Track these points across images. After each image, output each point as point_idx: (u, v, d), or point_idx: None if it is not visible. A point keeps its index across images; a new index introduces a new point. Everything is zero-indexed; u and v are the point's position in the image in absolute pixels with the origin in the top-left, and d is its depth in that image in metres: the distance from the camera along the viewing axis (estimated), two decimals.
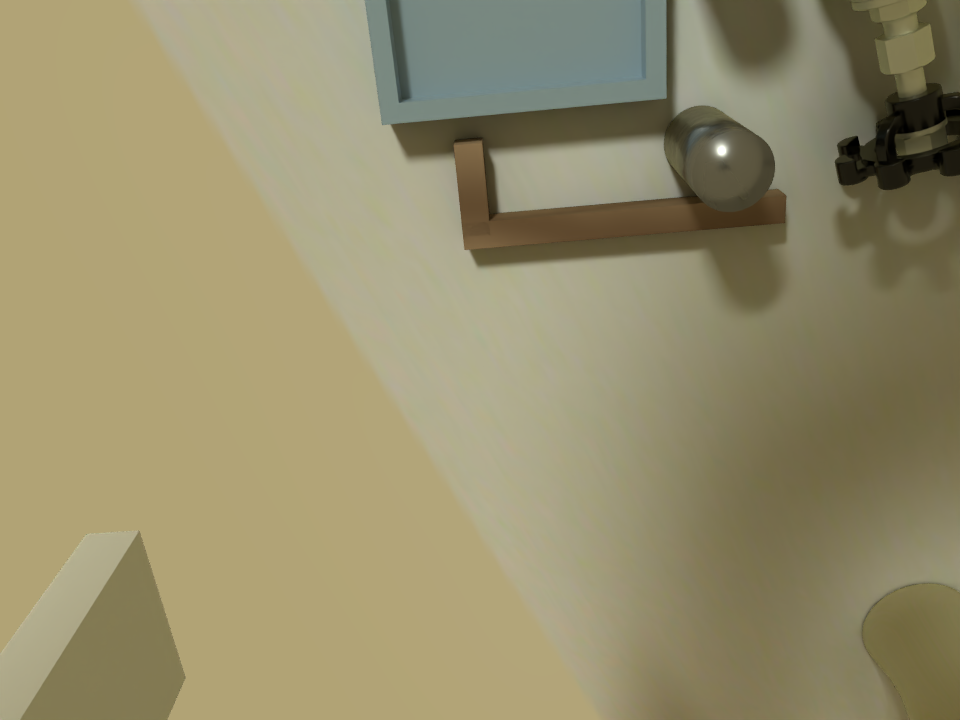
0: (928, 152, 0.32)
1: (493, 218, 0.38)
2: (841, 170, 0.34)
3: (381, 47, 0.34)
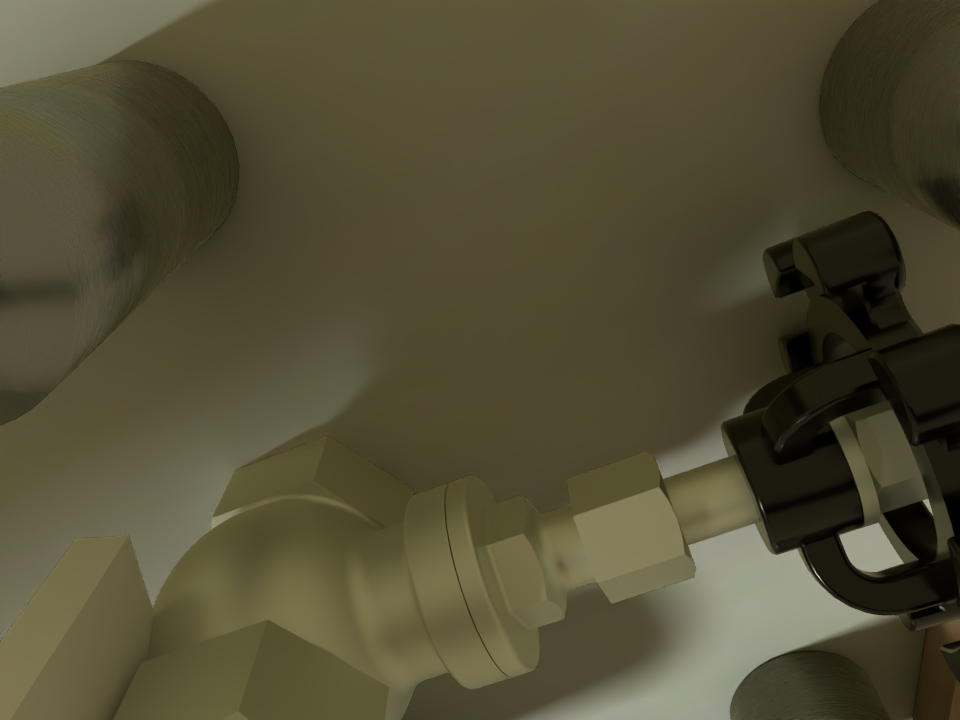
0: (947, 556, 0.10)
1: None
2: None
3: None
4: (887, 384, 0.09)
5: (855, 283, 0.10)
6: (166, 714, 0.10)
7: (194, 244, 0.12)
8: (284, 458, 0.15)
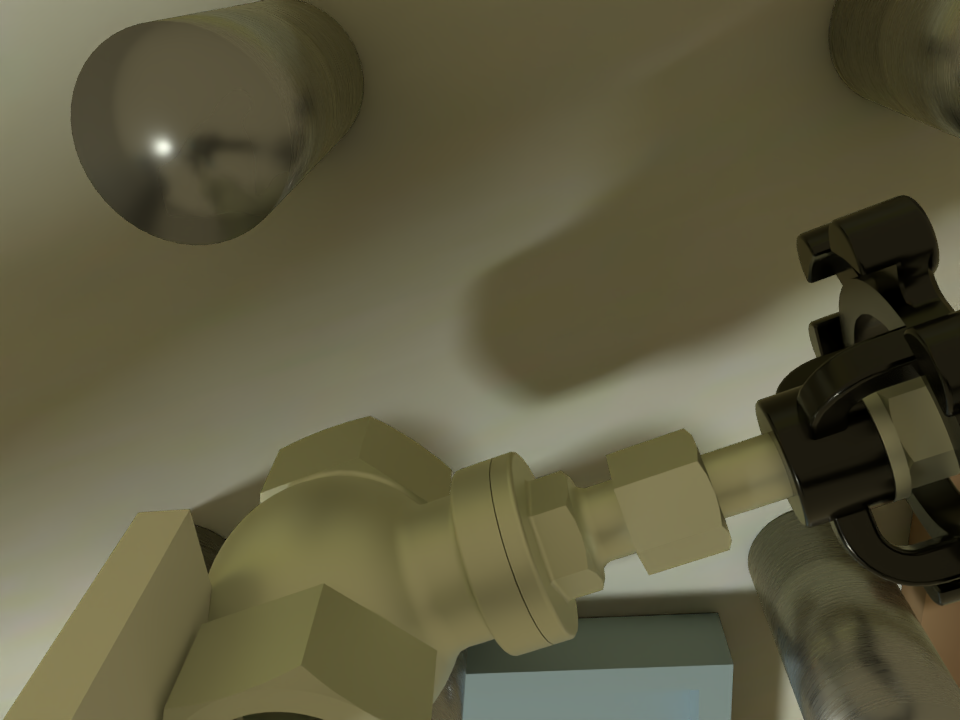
0: None
1: None
2: None
3: None
4: (923, 358, 0.10)
5: (890, 264, 0.11)
6: (230, 669, 0.11)
7: (337, 138, 0.16)
8: (328, 437, 0.16)
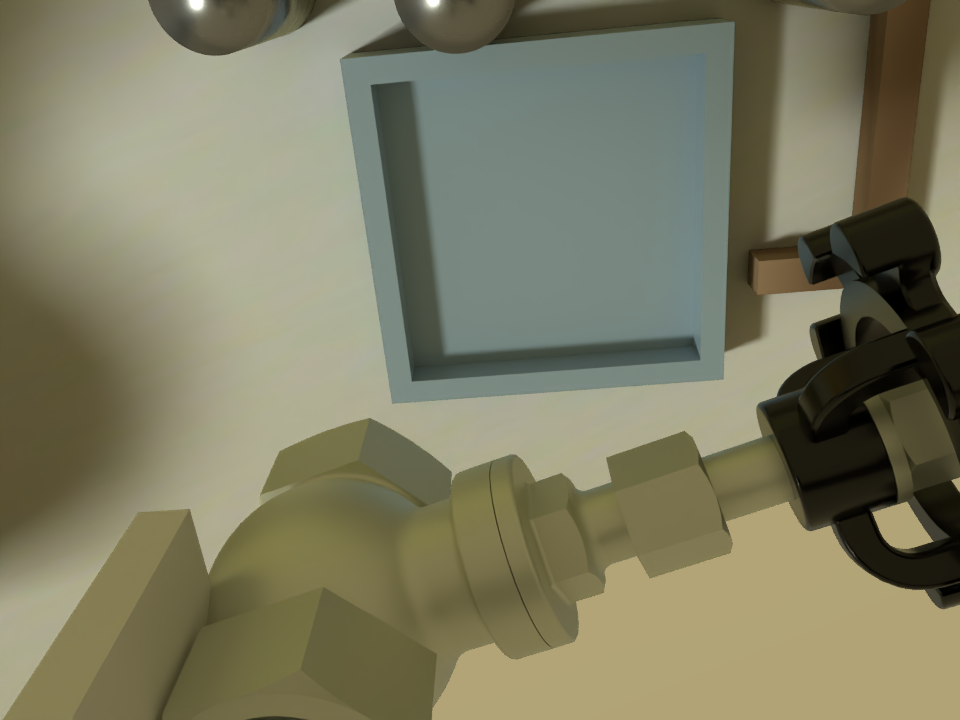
0: None
1: None
2: None
3: (637, 375, 0.30)
4: (925, 361, 0.10)
5: (892, 266, 0.11)
6: (230, 673, 0.11)
7: None
8: (328, 440, 0.16)
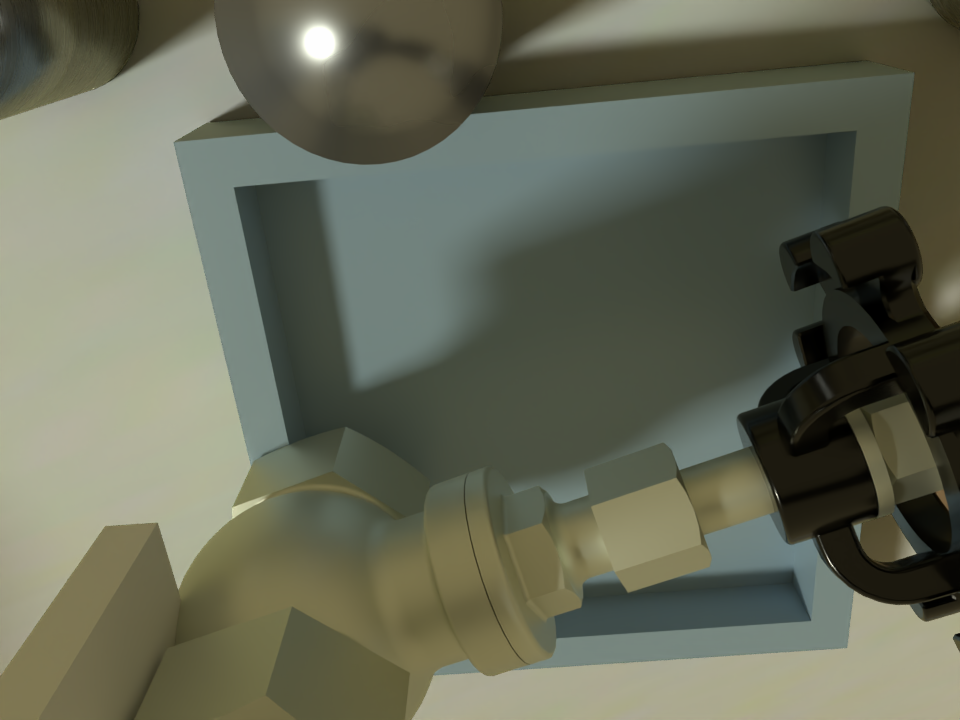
0: None
1: None
2: None
3: (705, 643, 0.18)
4: (904, 377, 0.09)
5: (872, 277, 0.10)
6: (195, 698, 0.10)
7: None
8: (303, 449, 0.15)
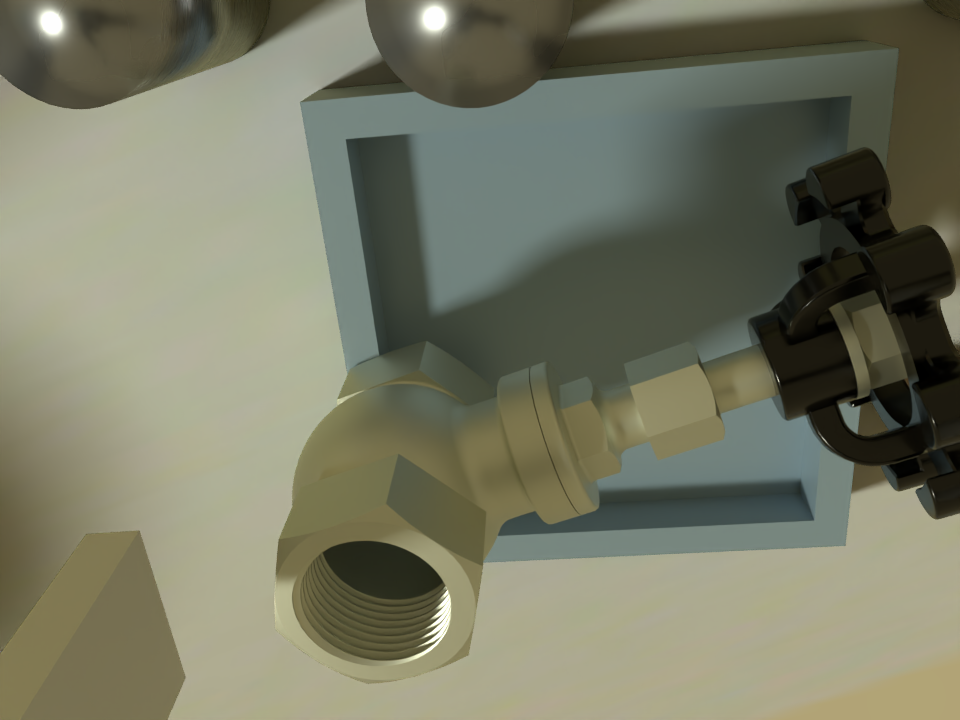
0: None
1: None
2: None
3: (723, 538, 0.21)
4: (869, 268, 0.13)
5: (851, 200, 0.14)
6: (329, 512, 0.14)
7: None
8: (391, 358, 0.19)
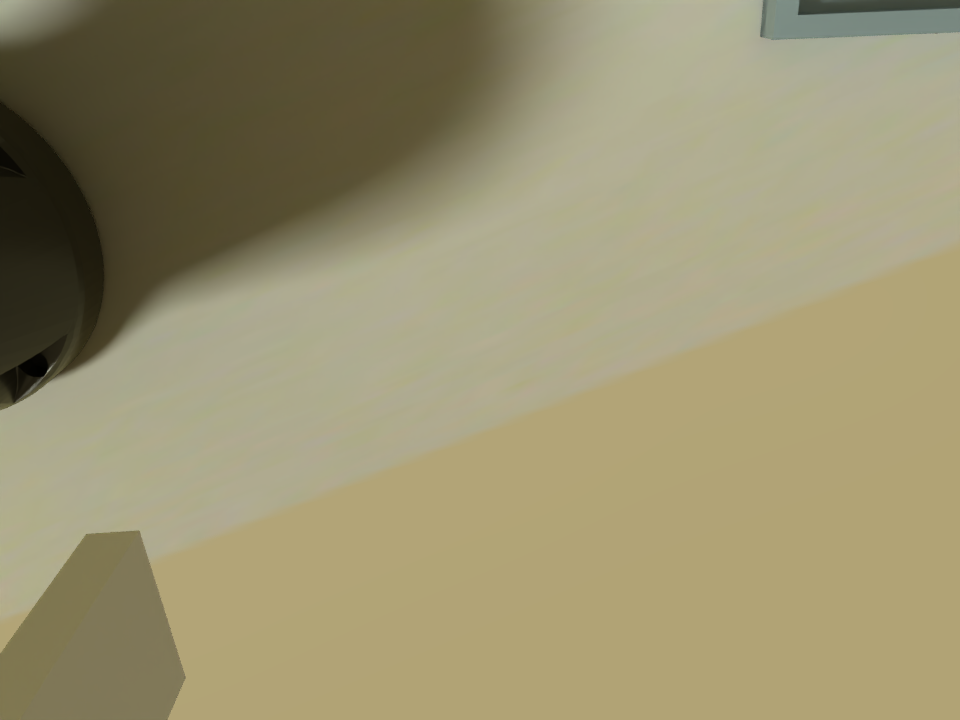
0: None
1: None
2: None
3: None
4: None
5: None
6: None
7: None
8: None
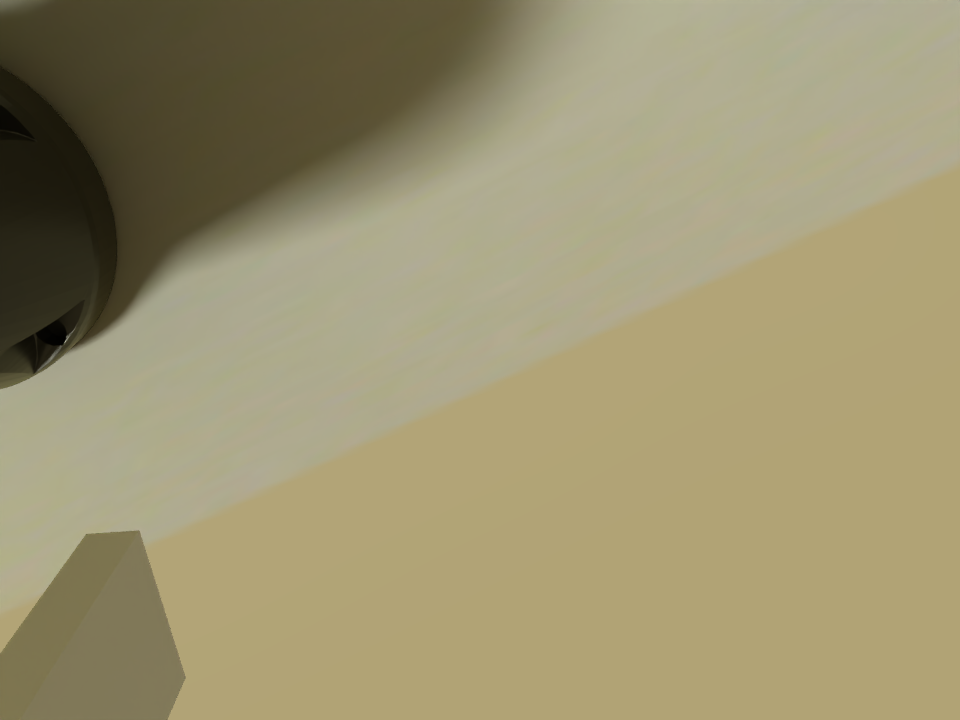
0: None
1: None
2: None
3: None
4: None
5: None
6: None
7: None
8: None
